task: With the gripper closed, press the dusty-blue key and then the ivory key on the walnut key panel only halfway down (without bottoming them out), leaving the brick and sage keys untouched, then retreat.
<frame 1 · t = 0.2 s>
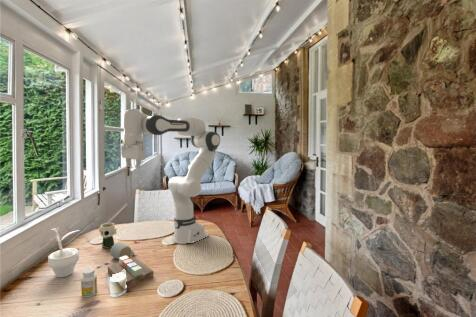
hand: (133, 167, 130), 47 cm above the table, fingers open, 8 cm apart
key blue: (132, 267, 114), point 4 cm above the table, slide at 0.0 cm
key ivory: (124, 260, 120), point 4 cm above the table, slide at 0.0 cm
ceramic mug: (123, 257, 132), on the table
potted plant: (66, 274, 116), on the table
key sage: (136, 271, 110), point 4 cm above the table, slide at 0.0 cm
character mug: (108, 247, 145), on the table
key panel: (130, 274, 115), on the table
key brick: (128, 264, 117), point 4 cm above the table, slide at 0.0 cm
supplement bottle: (89, 294, 101), on the table
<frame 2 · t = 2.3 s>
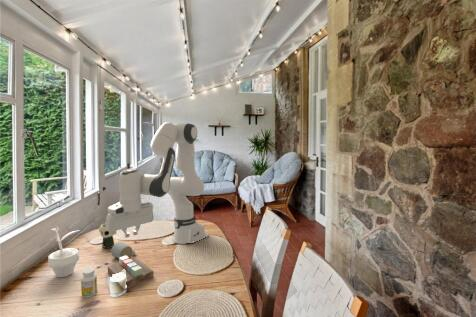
hand: (131, 235, 112), 19 cm above the table, fingers closed
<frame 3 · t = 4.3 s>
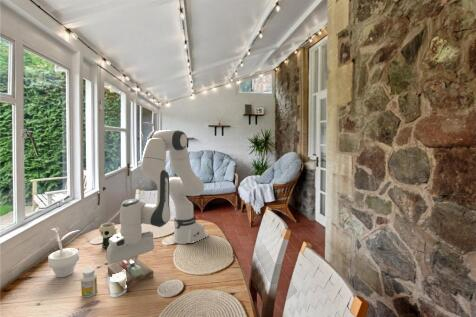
hand: (131, 265, 113), 5 cm above the table, fingers closed, pressing on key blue
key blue: (132, 269, 114), point 4 cm above the table, slide at 0.6 cm, touching gripper
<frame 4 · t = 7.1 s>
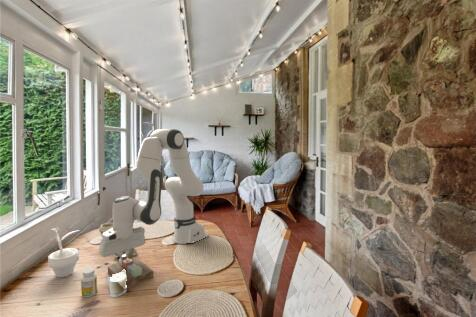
hand: (123, 259, 120), 5 cm above the table, fingers closed, pressing on key ivory
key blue: (132, 269, 114), point 3 cm above the table, slide at 0.8 cm
key ivory: (124, 262, 120), point 3 cm above the table, slide at 0.8 cm, touching gripper
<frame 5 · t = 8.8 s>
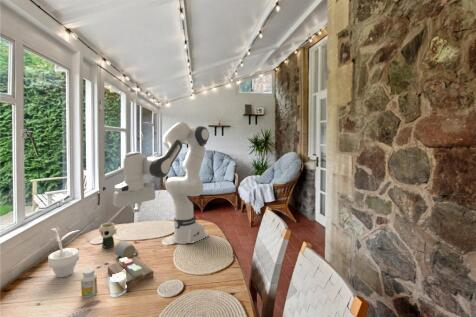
hand: (136, 211, 126), 26 cm above the table, fingers closed
key ivory: (124, 262, 120), point 3 cm above the table, slide at 0.8 cm
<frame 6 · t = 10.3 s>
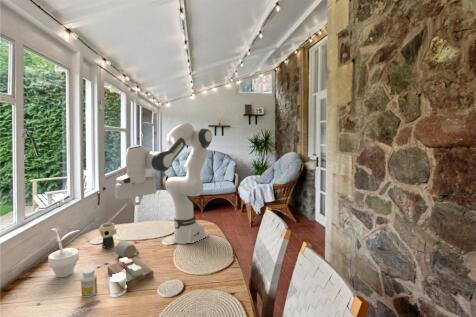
hand: (136, 204, 126), 29 cm above the table, fingers closed
at the end: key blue slide at 0.8 cm; key ivory slide at 0.8 cm; key brick slide at 0.0 cm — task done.
